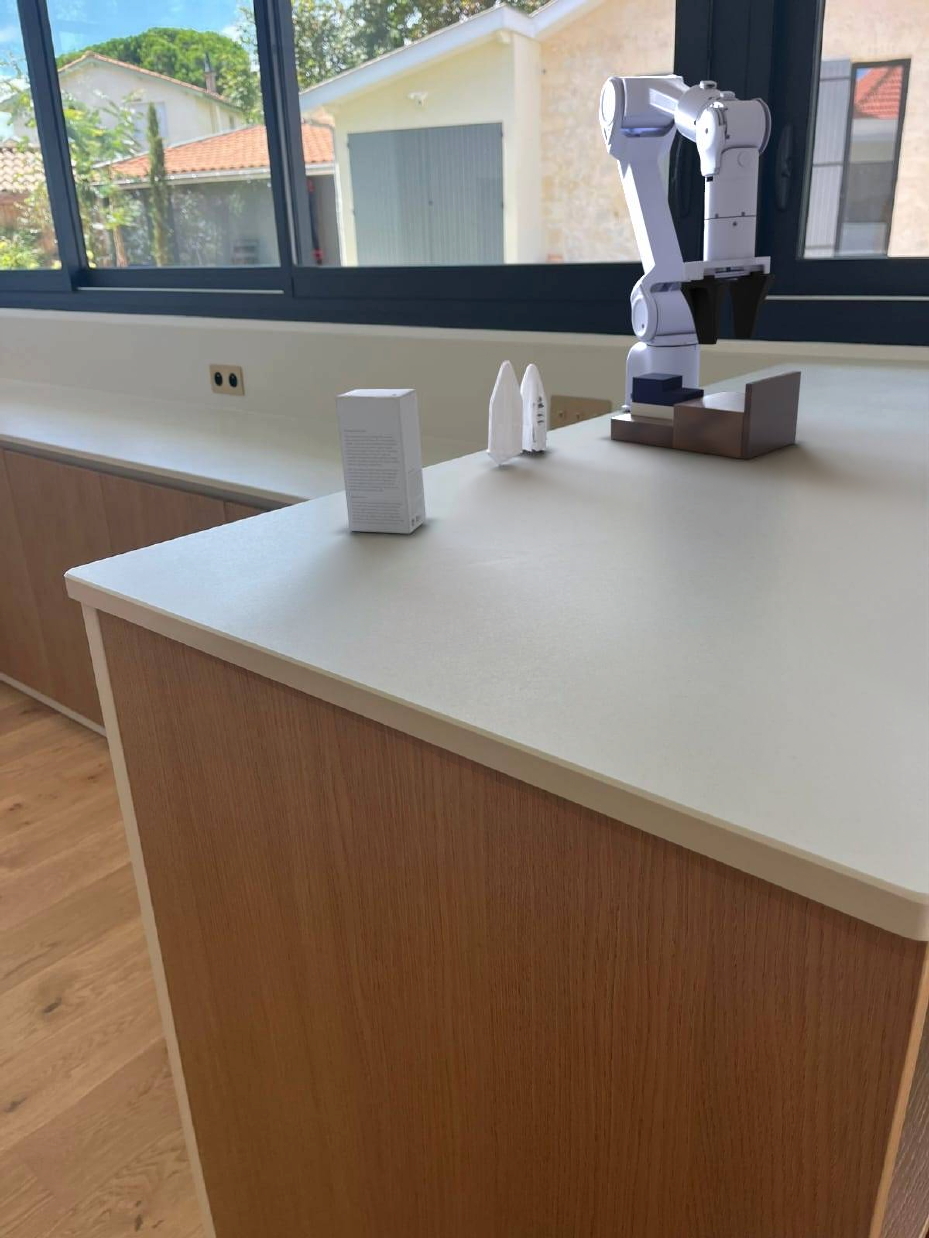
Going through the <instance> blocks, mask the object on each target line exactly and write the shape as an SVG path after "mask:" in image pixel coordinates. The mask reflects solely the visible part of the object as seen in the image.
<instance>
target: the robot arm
mask: <svg viewBox="0 0 929 1238" xmlns="http://www.w3.org/2000/svg"><path fill="white" fill-rule="evenodd" d="M717 85H718V83H717V82H716V81H713V80H701V81H700V83H699V84H695V85H693V86H691V87H690V86H688V85H687V84H685V83H684V77H683V76H680V75H679V76H678V75H676V74H668V75H666V76H665V75H663V76H661V75H660V76H658V75H657V76H618V75H611V76H610V77H609V78H608V79H607V80H606V82H605V83H604V85H603V88H602V90H601V95H600V105H599V122H600V126H601V131H602V134H603V135H602V136H603V139H604V142H605V143H604V144H606V149H607V152H608V154H609V155H610V156H611V157H613V158H614V159H616V160H617V161H616V162H617V166H618V170H619V174H620V178H621V183H622V186H623V191H624V194H625V200H626V203H627V207H628V211H629V215H630V219H631V223H632V227H633V231H634V235H635V239H636V243H637V247H638V250H639V255H640V260H641V263H642V268H643V272H644V275H643V276H642V277H640V279H639V280H638V281H637V282H636V284H635V285H634V286H633V289H632V290H631V294H630V305H631V323H632V330H633V332H634V334H635V336H636V337H637V339H638V340H639V341H640V342H637V343H635V344H634V345H633V346H632V347H631V348H630V350H629V352H628V354H627V358H626V363H625V404H624V405H622V406H621V409H622V410H626V411H630V402H632V380H633V377H636V376H640V375H645V374H649V373H662V374H673V375H683V379H682V387H684V388H694V389H699V386H700V362H701V345H706V346H707V345H708V346H709V345H710V346H714V345H717V342H718V339H719V335H720V325H721V315H722V309H723V305H724V301H725V298H726V295H727V292H728V291H729V295H730V300H731V305H732V320H733V333H734V334H733V335H734V338H735V339H737V340H739V339H742V340H743V339H745V340H746V339H748V340H749V339H753V338H754V335H755V332H756V328H757V326H758V325H757V324H758V321H759V317H760V314H761V311H762V308H763V306H764V303H765V301H766V299H767V297H768V294H769V293H770V291H771V289H772V287H773V286H774V284H775V283H776V282H775V280H776V275H775V274H770V272H771V256H756V257H755V254H756V253H755V249H756V228H757V227H756V226H757V205H758V203H757V202H758V183H759V182H758V181H759V180H758V179H759V157H760V155H761V154H762V153H764V151H765V150H766V147H767V146H768V143H769V139H770V136H771V130H772V116H771V111H770V108H769V106H768V104H766V102H764V100H763V99H762V98H761V97H758V98H757V97H756V98H752V99H750V100H740V99H739V98H736V94H735V93H736V92H733V91H732V90H725V91H722V90H720V89H717ZM677 130H678V132H679V133H680V134H681V135H682V136H684V137H685V138H687V139H689V140H690V141H692V142H694V143H696V146H697V152H698V154H699V157H700V172H701V175H702V177H705V184H704V185H705V190H704V191H705V192H704V227H703V228H704V229H703V230H704V231H703V260H698V261H684V260H683V256H682V251H681V249H680V245H679V240H678V237H677V232H676V229H675V225H674V221H673V217H672V213H671V210H670V205H669V201H668V197H667V194H666V190H665V186H664V182H663V177H662V174H661V170H660V166H659V162H658V161H659V159H661V158H662V157H663V156H665V155H666V154H668V153H669V152H670V151H671V149H672V145H673V141H674V139H675V135H676V133H677ZM727 268H730V270H731V271H727ZM737 270H738V271H737ZM728 277H729V278H730V277H737V278H730V279H726V280H725V281H718V279H717V278H728Z"/></svg>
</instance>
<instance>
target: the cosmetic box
mask: <svg viewBox="0 0 929 1238" xmlns="http://www.w3.org/2000/svg"><path fill="white" fill-rule="evenodd" d="M334 399H335V408H336V415H337V424H338V433H339V445H340V452H341V461H342V470H343V480H344V491H345V497H346V498H345V500H346V509H347V510H346V511H347V518H348V526H349V527H348V528H349V531H350V532H365V533H386V534H387V533H389V534H411V533H412V532H414V531H415V530H416V529H418V528H419V527H420V526H421V525H423V524H424V523H425V522H426V521H427V515H426V501H425V488H424V474H423V464H422V449H421V437H420V436H421V435H420V423H419V411H418V399H417V390H416V388H402V389H401V388H400V389H399V388H397V389H396V388H394V389H393V388H391V389H390V388H389V389H387V388H386V389H385V388H381V389H380V388H377V389H375V388H372V389H368V388H367V389H364V388H363V389H361V388H360V389H353V390H350V391H347V392H346V393H343V394H339V395H336V396H335V398H334Z"/></svg>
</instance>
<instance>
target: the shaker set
mask: <svg viewBox="0 0 929 1238" xmlns="http://www.w3.org/2000/svg"><path fill="white" fill-rule="evenodd" d="M521 381H522V382H521V384H520V386H519V382H518V379H517V376H516V373H515V370H514V366H513V365H512V363H511V361H510V360H504V361H502V363H501V366H500V368H499V372H498V374H497V378H496V380H495V384H494V386H493V390H492V394H491V397H490V400H489V407H488V409H489V410H488V434H487V435H488V441H487V443H488V444H487V450H486V455H487V456H488V457H489V458H490V459H491V460H492V461H493V462H494V463H495V464H496V465H497V466H501V465H502V464H504V463H506V462H508V461H509V460H511V459H513V458H515V457H517V456H519V455H520V454H522V453H523V452H524V450H525V451H527V452H534V451H535V452H540V451H547V440H548V438H547V433H548V400H547V397H546V393H545V388H544V385H543V382H542V378H541V375H540V372H539V370H538V368H537V366H536V364H535V363H529V364H528V365H527V367H526V369H525V372H524V375H523V378H522V380H521Z"/></svg>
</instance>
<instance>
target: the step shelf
mask: <svg viewBox="0 0 929 1238" xmlns="http://www.w3.org/2000/svg"><path fill="white" fill-rule="evenodd" d="M801 377H802V371H800V370H794V371H793V370H792V371H790V372H785V373H782V374H778V375H774V376H770V377H767V378H762V379H759V380H755V381H751V382H747V383H745V389H744V392H734V391H721V392H717V393H713V394H709V395H704V397H700V398H697V399H693V400H689V401H685V402H681V403H677V404H674V408H673V420H670V419H662V418H654V417H646V416H638V415H631V414H630V413H625V414H621V415H617V416H615V417H611V418H610V439H611V440H616V441H624V442H630V443H637V444H643V445H648V446H649V445H650V446H656V447H663V448H668V449H675V450H683V451H689V452H695V453H701V454H707V455H708V454H709V455H715V456H722V457H727V458H736V459H742V460H749V459H752V458H755V457H758V456H760V455H761V456H762V455H765V454H767V453H769V452H772V451H776V450H779V449H781V448H784V447H787V446H790V445H793V444H795V443H796V438H797V426H798V415H799V403H800V390H801Z"/></svg>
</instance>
